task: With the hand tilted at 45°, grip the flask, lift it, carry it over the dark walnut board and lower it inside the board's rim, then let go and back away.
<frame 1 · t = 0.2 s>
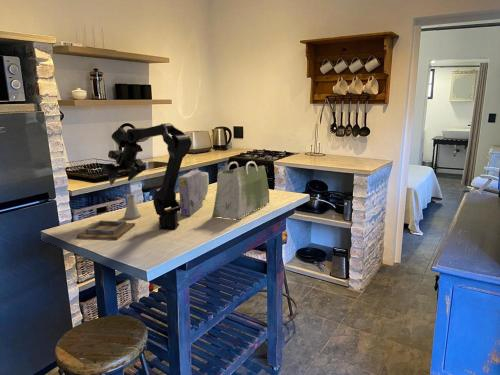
hand: (119, 182, 164), 15 cm above the table, tool tilted 35°, fingers open, 9 cm apart
mug: (198, 197, 196), on the table
grocery bag: (242, 210, 174), on the table
cake pan box: (192, 210, 173), on the table
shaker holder: (107, 231, 146), on the table
flask: (132, 217, 164), on the table
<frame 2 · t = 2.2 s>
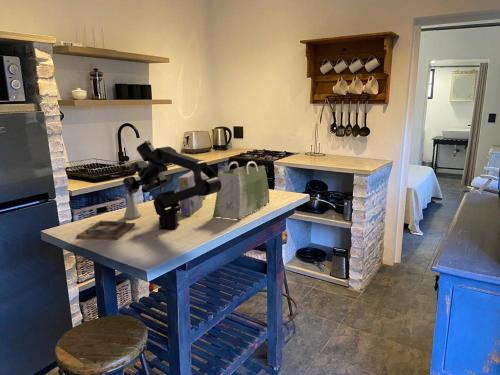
hand: (138, 192, 158), 12 cm above the table, tool tilted 45°, fingers open, 9 cm apart
nothing on the table moved.
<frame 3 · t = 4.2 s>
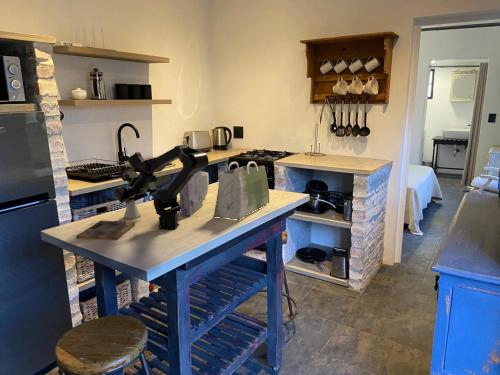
hand: (129, 201, 164), 7 cm above the table, tool tilted 45°, fingers closed on flask, 3 cm apart
flask: (132, 217, 164), on the table, touching gripper
everything else where it was.
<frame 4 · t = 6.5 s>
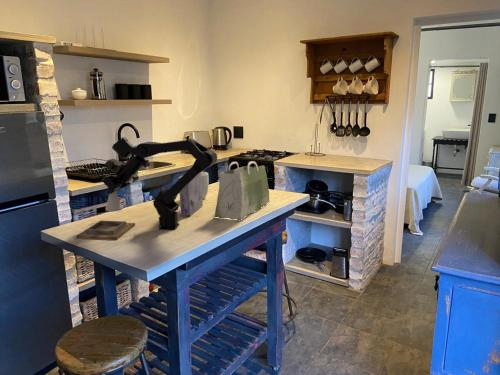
hand: (109, 192, 152), 13 cm above the table, tool tilted 45°, fingers closed on flask, 3 cm apart
flask: (114, 210, 154), point 6 cm above the table, touching gripper
everything else where it was.
when the fingers open (8 cm above the table, at t = 8.6 s): flask stays where it is, resting on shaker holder.
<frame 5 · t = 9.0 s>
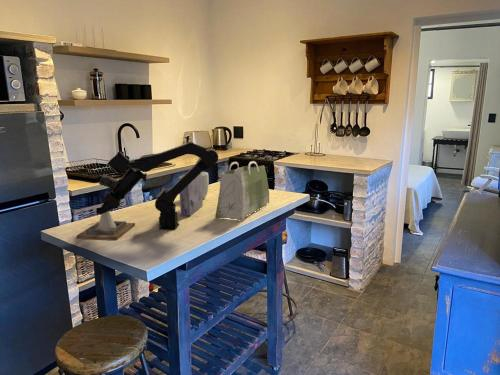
hand: (101, 210, 144), 9 cm above the table, tool tilted 45°, fingers open, 7 cm apart
flask: (107, 229, 146), point 1 cm above the table, touching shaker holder
everything else where it was.
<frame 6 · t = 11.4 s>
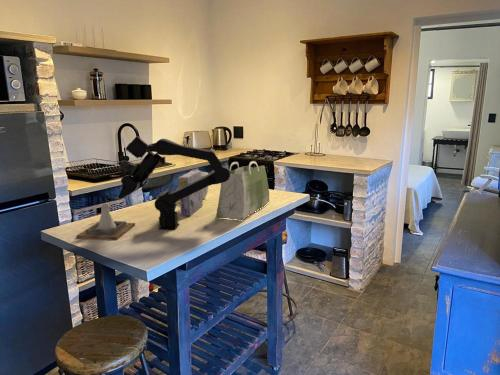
hand: (123, 196, 145), 14 cm above the table, tool tilted 40°, fingers open, 9 cm apart
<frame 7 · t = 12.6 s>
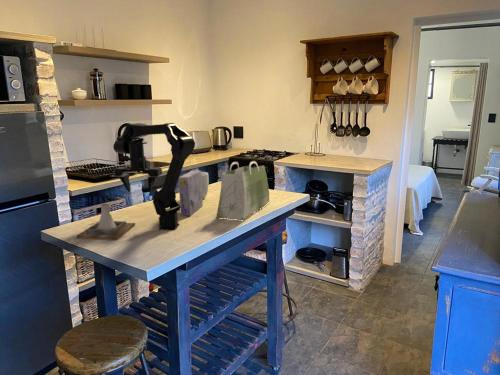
hand: (139, 191, 155), 13 cm above the table, tool pointing down, fingers open, 9 cm apart
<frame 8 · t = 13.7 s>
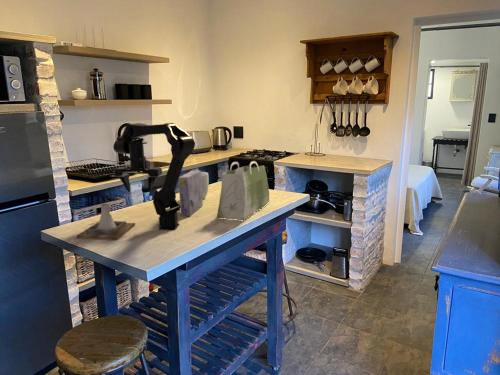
hand: (139, 191, 155), 13 cm above the table, tool pointing down, fingers open, 9 cm apart
at the end: flask 0.1 cm from the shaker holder (horizontally); flask point 0.8 cm above the table; flask tilted 0° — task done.
